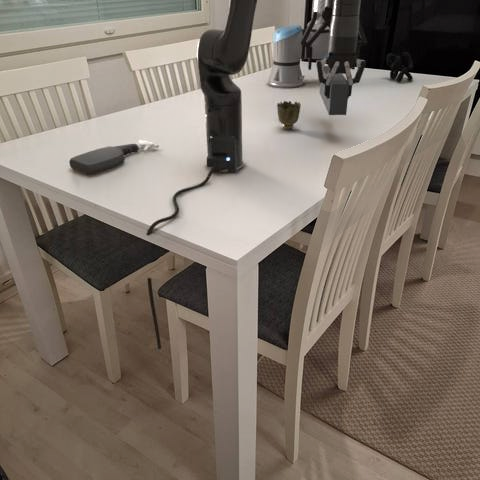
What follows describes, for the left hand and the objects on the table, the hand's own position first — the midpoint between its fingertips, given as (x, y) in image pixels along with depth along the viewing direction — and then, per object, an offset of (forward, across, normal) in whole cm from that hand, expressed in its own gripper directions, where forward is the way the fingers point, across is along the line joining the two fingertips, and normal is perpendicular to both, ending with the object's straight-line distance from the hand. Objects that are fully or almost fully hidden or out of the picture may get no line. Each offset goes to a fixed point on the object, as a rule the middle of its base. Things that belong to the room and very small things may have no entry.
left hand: (337, 97), depth 129 cm
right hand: (-4, 0, +18) cm, 19 cm away
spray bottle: (+13, -62, -16) cm, 65 cm away
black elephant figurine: (+12, +40, +79) cm, 89 cm away
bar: (+4, 0, +9) cm, 10 cm away
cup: (+13, -13, +10) cm, 21 cm away
